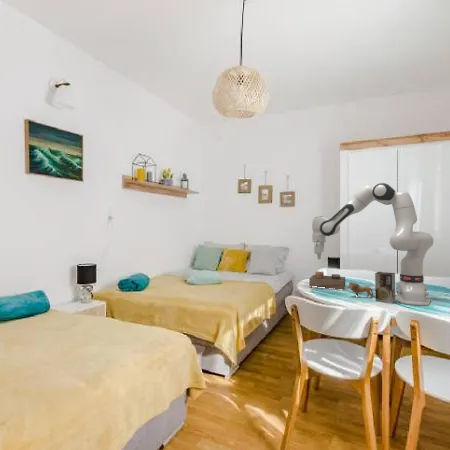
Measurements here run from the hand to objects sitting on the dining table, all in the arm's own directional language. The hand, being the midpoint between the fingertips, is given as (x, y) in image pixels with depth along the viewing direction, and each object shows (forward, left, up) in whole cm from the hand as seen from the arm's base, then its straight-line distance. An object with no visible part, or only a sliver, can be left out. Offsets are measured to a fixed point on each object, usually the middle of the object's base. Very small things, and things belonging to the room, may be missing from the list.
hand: (319, 259), depth 221 cm
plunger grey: (+1, -11, -18) cm, 21 cm away
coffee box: (-27, -40, -19) cm, 53 cm away
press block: (0, -5, -19) cm, 20 cm away
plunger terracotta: (+1, 0, -17) cm, 17 cm away
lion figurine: (-24, -28, -19) cm, 41 cm away
